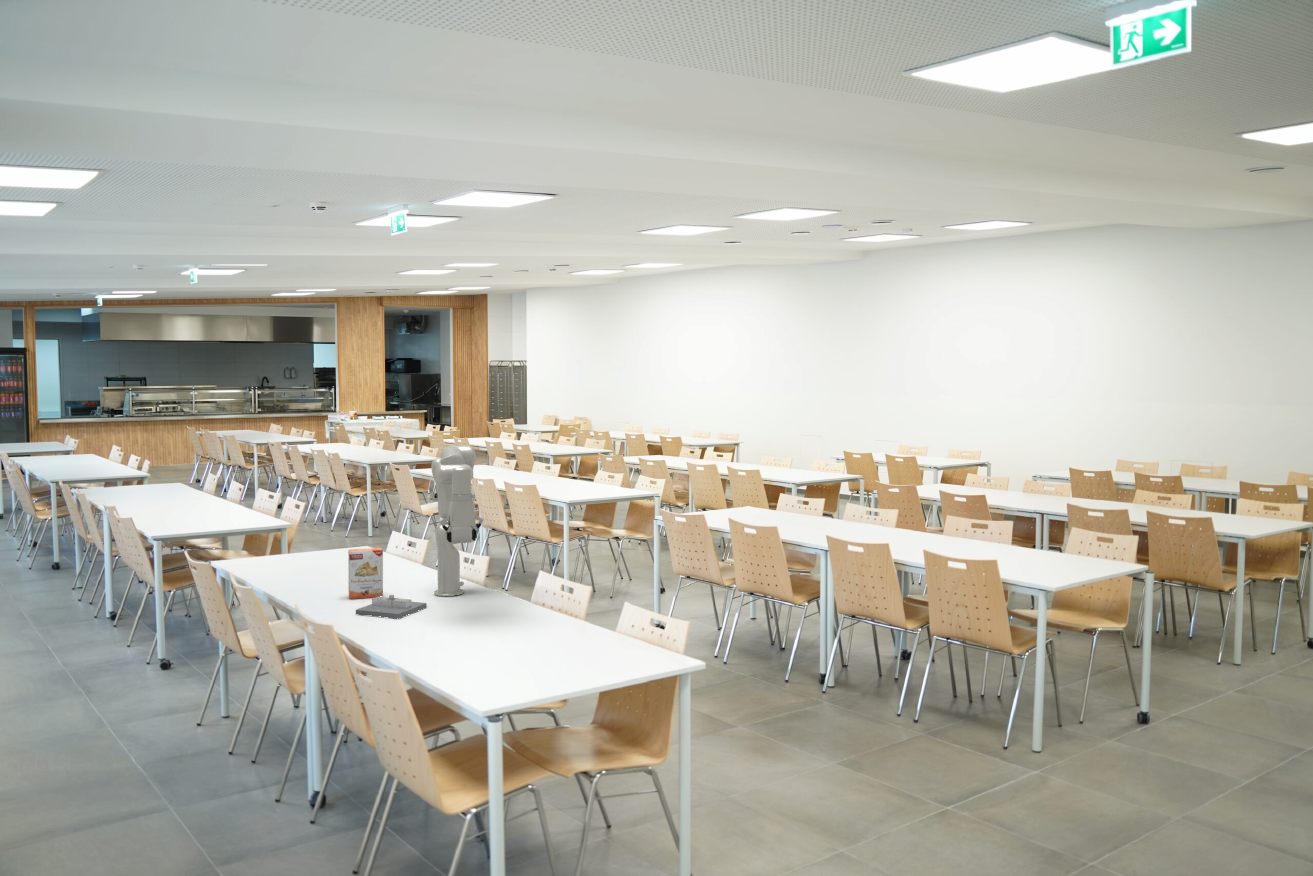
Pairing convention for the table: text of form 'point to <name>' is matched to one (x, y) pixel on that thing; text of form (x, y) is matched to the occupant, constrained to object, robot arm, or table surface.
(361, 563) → the cracker box
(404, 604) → the grey long block
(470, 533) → the robot arm
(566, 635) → the table surface
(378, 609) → the cover plate
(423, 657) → the table surface
